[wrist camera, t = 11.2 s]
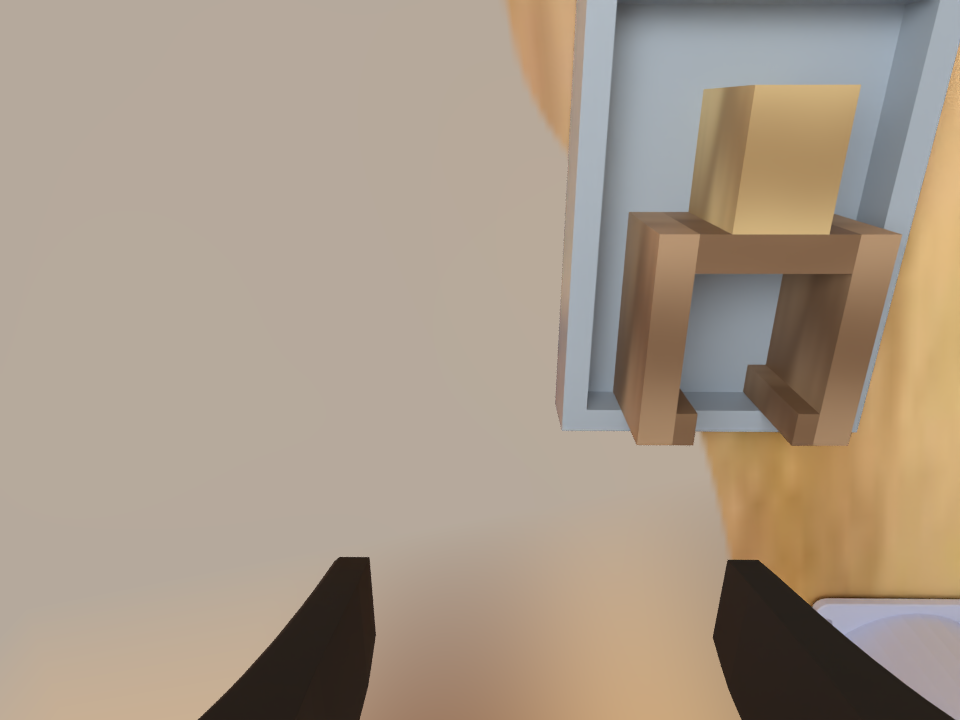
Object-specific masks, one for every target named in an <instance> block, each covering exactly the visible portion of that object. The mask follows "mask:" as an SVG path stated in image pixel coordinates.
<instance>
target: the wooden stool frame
mask: <svg viewBox="0 0 960 720" xmlns="http://www.w3.org/2000/svg"><path fill="white" fill-rule="evenodd" d="M860 88H861V85H747V86H736V87H724V88H713V89H704V90H703V98H702V106H701V114H700V122H699V130H698V138H697V146H696V155H695V163H694V171H693V179H692V187H691V195H690V203H689V211H688V212H629V215H628V226H627V238H626V249H625V260H624V272H623V283H622V294H621V305H620V317H619V328H618V339H617V351H616V362H615V373H614V385H613V393H614V395H615V397H616V400H617V402H618V404H619V406H620V408H621V411H622V413H623V415H624V417H625V420H626V422H627V424H628V426H629V428H630V431H631V433H632V435H633V437H634V440H635V442H636V444H637V445H693V442H694V436H695V429H696V422H697V416H698V414H697V412H696V411H695V409H694V408H693V406H692V405H691V404H690V402H689V401H688V399H687V398H686V396H685V395H684V393H683V392H682V391H681V389H680V382H681V374H682V367H683V359H684V352H685V344H686V337H687V329H688V322H689V314H690V307H691V299H692V292H693V284H694V277H695V274H783V276H782V281H781V286H780V292H779V297H778V302H777V308H776V313H775V318H774V324H773V329H772V334H771V339H770V345H769V350H768V355H767V361H766V365H748V366H747V371H746V377H745V383H744V388H743V392H744V394H745V395H746V396H747V397H748V398H749V399H750V400H751V401H752V402H753V404H754V405H755V406H756V407H757V408H758V409H759V410H760V411H761V412H762V413H763V415H764V416H765V417H766V418H767V419H768V420H769V421H770V422H771V423H772V424H773V426H774V427H775V428H776V429H777V430H778V431H779V432H780V433H781V434H782V435H783V437H784V438H785V439H786V440H787V441H788V442H789V443H790V444H791V445H792V446H848V444H849V440H850V436H851V432H852V428H853V424H854V421H855V417H856V413H857V409H858V405H859V401H860V397H861V393H862V389H863V386H864V382H865V378H866V374H867V370H868V366H869V362H870V358H871V354H872V351H873V347H874V343H875V339H876V335H877V331H878V327H879V323H880V319H881V316H882V312H883V308H884V304H885V300H886V296H887V292H888V288H889V284H890V281H891V277H892V273H893V269H894V265H895V261H896V257H897V253H898V249H899V246H900V242H901V238H902V234H899V233H896V232H892V231H889V230H886V229H882V228H879V227H876V226H873V225H869V224H866V223H863V222H859V221H856V220H853V219H849V218H846V217H843V216H840V215H836V214H834V211H835V206H836V201H837V196H838V192H839V187H840V182H841V178H842V173H843V168H844V163H845V159H846V154H847V149H848V145H849V140H850V135H851V131H852V126H853V121H854V116H855V112H856V107H857V102H858V98H859V93H860Z"/></svg>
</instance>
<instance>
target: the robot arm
mask: <svg viewBox="0 0 960 720" xmlns="http://www.w3.org/2000/svg"><path fill="white" fill-rule="evenodd" d="M375 636H376V632H375V620H374V608H373V596H372V583H371V572H370V559H369V557H339V558H338V559H337V560H336V561H334V563H333V564H332V566H331V567H330V568H329V570H328V571H327V573H326V574H325V576H324V577H323V578H322V580H321V581H320V583H319V584H318V585H317V587H316V588H315V590H314V591H313V592H312V593H311V595H310V596H309V597H308V599H307V600H306V601H305V602H304V604H303V605H302V607H301V608H300V609H299V610H298V612H297V613H296V614H295V615H294V616H293V618H292V619H291V620H290V621H289V623H288V624H287V625H286V626H285V628H284V629H283V630H282V631H281V632H280V634H279V635H278V636H277V637H276V639H275V640H274V641H273V642H272V643H271V644H270V645H269V647H268V648H267V649H266V650H265V651H264V652H263V653H262V654H261V656H260V657H259V658H258V659H257V660H256V661H255V662H254V663H253V664H252V666H251V667H250V668H249V669H248V670H247V671H246V672H245V674H243V675H242V677H241V678H240V679H239V680H238V681H237V682H236V683H235V684H234V685H233V686H232V687H231V688H230V689H229V690H228V691H227V692H226V693H225V694H224V695H223V696H222V697H221V698H220V699H219V700H218V701H217V702H216V703H215V704H214V705H213V706H212V707H211V708H210V709H209V710H208V711H207V712H205V713H204V714H203V716H201V717H200V718H199V719H198V720H360V716H361V711H362V708H363V704H364V700H365V696H366V692H367V688H368V683H369V677H370V670H371V664H372V657H373V650H374V643H375ZM713 640H714V643H715V646H716V650H717V653H718V657H719V660H720V663H721V667H722V670H723V673H724V676H725V679H726V683H727V686H728V689H729V691H730V694H731V696H732V699H733V701H734V703H735V706H736V708H737V710H738V712H739V715H740V717H741V719H742V720H960V599H859V598H825V599H820V600H818V601H817V602H815V603H814V605H813V606H812V607H811V606H810V605H809V604H808V603H807V602H806V601H804V600H803V599H802V598H801V597H800V596H799V595H798V594H796V593H795V592H794V591H793V590H792V589H791V588H790V587H789V586H788V585H786V584H785V583H784V582H783V581H782V580H781V579H780V578H779V577H777V576H776V575H775V574H774V573H773V572H772V571H771V570H769V569H768V568H767V567H766V566H765V565H764V564H762V563H761V562H760V561H759V560H728V561H727V566H726V571H725V577H724V582H723V587H722V592H721V597H720V603H719V608H718V613H717V618H716V624H715V629H714V634H713Z"/></svg>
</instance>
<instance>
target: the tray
mask: <svg viewBox="0 0 960 720" xmlns="http://www.w3.org/2000/svg"><path fill="white" fill-rule="evenodd" d="M959 43H960V0H577V3H576V22H575V41H574V60H573V79H572V98H571V117H570V135H569V154H568V174H567V193H566V211H565V230H564V249H563V268H562V286H561V306H560V324H559V325H560V326H559V343H558V363H557V382H556V400H555V404H556V408H557V413H558V417H559V421H560V425H561V430H562V431H630V428H629V426H628V424H627V422H626V420H625V417H624V415H623V413H622V411H621V408H620V406H619V404H618V402H617V400H616V397H615V395H614V393H613V385H614V373H615V362H616V351H617V339H618V328H619V317H620V305H621V294H622V283H623V272H624V260H625V249H626V238H627V226H628V215H629V212H688V211H689V203H690V195H691V187H692V179H693V171H694V163H695V155H696V146H697V138H698V130H699V122H700V114H701V106H702V98H703V90H704V89H713V88H724V87H736V86H747V85H861V88H860V93H859V98H858V102H857V107H856V112H855V116H854V121H853V126H852V131H851V135H850V140H849V145H848V149H847V154H846V159H845V163H844V168H843V173H842V178H841V182H840V187H839V192H838V196H837V201H836V206H835V211H834V214H836V215H840V216H843V217H846V218H849V219H853V220H856V221H859V222H863V223H866V224H869V225H873V226H876V227H879V228H882V229H886V230H889V231H892V232H896V233H899V234H902V238H901V242H900V246H899V249H898V253H897V257H896V261H895V265H894V269H893V273H892V277H891V281H890V284H889V288H888V292H887V296H886V300H885V304H884V308H883V312H882V316H881V319H880V323H879V327H878V331H877V335H876V339H875V343H874V347H873V351H872V354H871V358H870V362H869V366H868V370H867V374H866V378H865V382H864V386H863V389H862V393H861V397H860V401H859V405H858V409H857V413H856V417H855V421H854V424H853V428H852V432H857V429H858V425H859V422H860V418H861V414H862V410H863V406H864V403H865V399H866V395H867V391H868V388H869V384H870V380H871V376H872V372H873V369H874V365H875V361H876V357H877V353H878V350H879V346H880V342H881V338H882V334H883V331H884V327H885V323H886V319H887V316H888V312H889V308H890V304H891V300H892V297H893V293H894V289H895V285H896V281H897V278H898V274H899V270H900V266H901V262H902V259H903V255H904V251H905V247H906V244H907V240H908V236H909V232H910V228H911V225H912V221H913V217H914V213H915V209H916V206H917V202H918V198H919V194H920V190H921V187H922V183H923V179H924V175H925V172H926V168H927V164H928V160H929V156H930V153H931V149H932V145H933V141H934V137H935V134H936V130H937V126H938V122H939V118H940V115H941V111H942V107H943V103H944V100H945V96H946V92H947V88H948V84H949V81H950V77H951V73H952V69H953V65H954V62H955V58H956V54H957V50H958V46H959ZM782 276H783V274H695V277H694V284H693V292H692V299H691V307H690V314H689V322H688V329H687V337H686V344H685V352H684V359H683V367H682V374H681V382H680V389H681V391H682V392H683V393H684V395H685V396H686V398H687V399H688V401H689V402H690V404H691V405H692V406H693V408H694V409H695V411H696V412H697V414H698V416H697V422H696V429H695V431H716V432H779V431H778V430H777V429H776V428H775V427H774V426H773V424H772V423H771V422H770V421H769V420H768V419H767V418H766V417H765V416H764V415H763V413H762V412H761V411H760V410H759V409H758V408H757V407H756V406H755V405H754V404H753V402H752V401H751V400H750V399H749V398H748V397H747V396H746V395H745V394H744V392H743V388H744V383H745V377H746V371H747V366H748V365H766V361H767V355H768V350H769V345H770V339H771V334H772V329H773V324H774V318H775V313H776V308H777V302H778V297H779V292H780V286H781V281H782Z"/></svg>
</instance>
